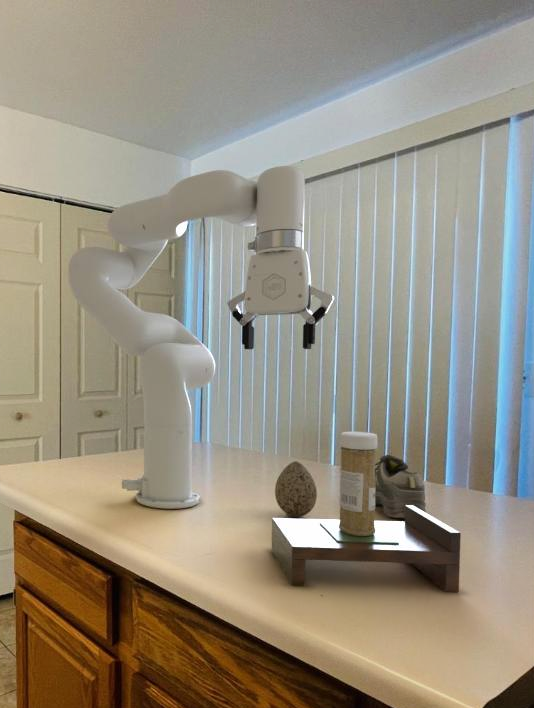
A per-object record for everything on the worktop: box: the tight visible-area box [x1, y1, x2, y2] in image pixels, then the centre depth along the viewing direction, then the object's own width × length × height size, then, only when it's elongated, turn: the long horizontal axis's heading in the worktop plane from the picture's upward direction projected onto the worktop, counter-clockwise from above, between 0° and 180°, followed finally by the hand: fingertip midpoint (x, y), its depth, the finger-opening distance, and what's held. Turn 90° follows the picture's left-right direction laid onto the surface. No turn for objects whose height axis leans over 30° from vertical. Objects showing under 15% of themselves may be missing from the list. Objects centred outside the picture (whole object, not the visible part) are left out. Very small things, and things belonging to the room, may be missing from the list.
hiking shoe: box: [375, 454, 427, 519], centre depth 101 cm, size 9×21×12 cm
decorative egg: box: [274, 461, 318, 518], centre depth 95 cm, size 7×7×10 cm
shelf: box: [270, 505, 462, 593], centre depth 71 cm, size 20×12×7 cm, turn 85°
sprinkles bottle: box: [339, 431, 378, 536], centre depth 70 cm, size 5×5×13 cm
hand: (277, 349), depth 88 cm, fingers open, 9 cm apart
